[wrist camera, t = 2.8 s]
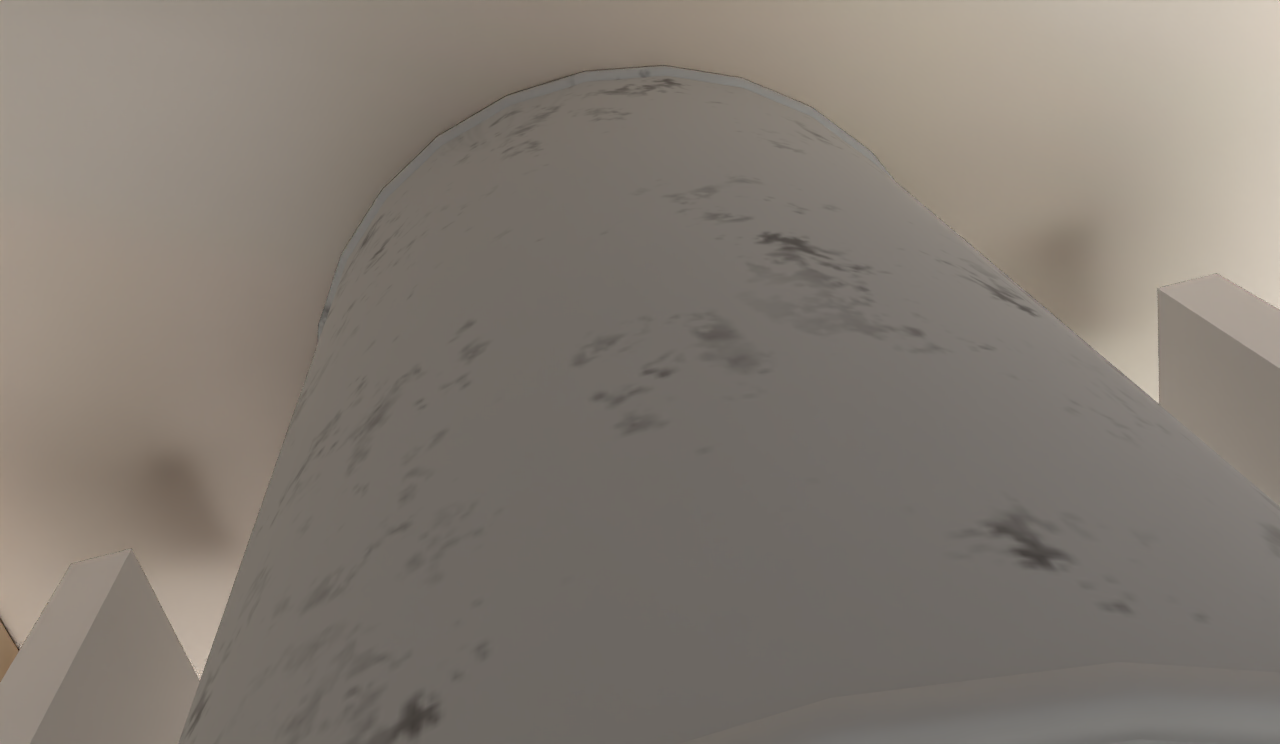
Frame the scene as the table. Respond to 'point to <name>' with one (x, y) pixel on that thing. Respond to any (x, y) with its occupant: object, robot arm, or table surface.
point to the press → (6, 651)
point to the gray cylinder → (723, 467)
